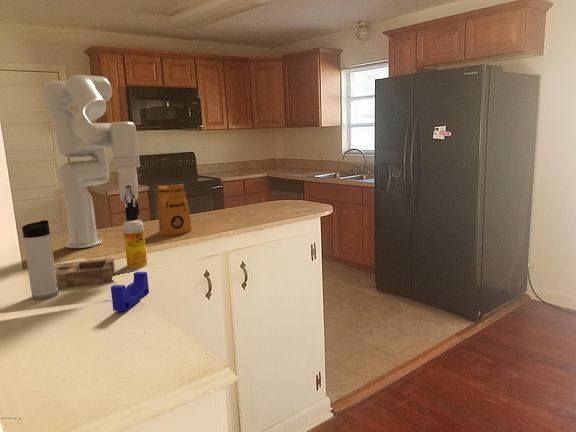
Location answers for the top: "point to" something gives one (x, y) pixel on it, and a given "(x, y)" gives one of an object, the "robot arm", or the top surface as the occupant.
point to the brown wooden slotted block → (84, 272)
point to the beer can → (135, 243)
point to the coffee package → (173, 210)
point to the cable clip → (130, 292)
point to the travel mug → (40, 260)
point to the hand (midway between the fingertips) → (133, 217)
